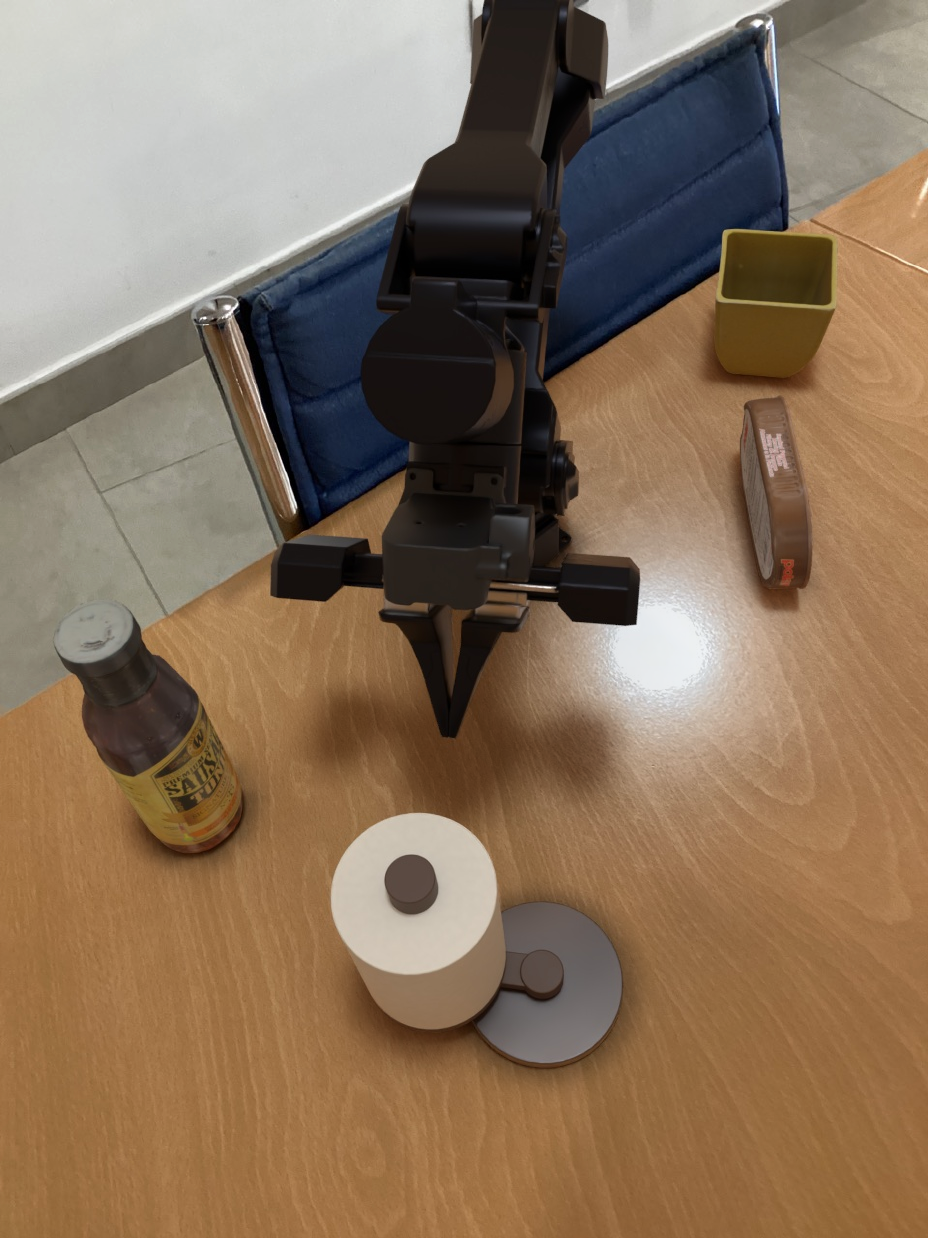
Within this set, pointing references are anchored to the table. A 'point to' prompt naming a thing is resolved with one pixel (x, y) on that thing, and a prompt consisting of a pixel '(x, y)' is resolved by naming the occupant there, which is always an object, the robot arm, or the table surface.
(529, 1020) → the swivel base
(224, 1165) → the table surface
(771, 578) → the tin
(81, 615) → the sauce bottle
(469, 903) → the paper towel roll
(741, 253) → the flower pot
